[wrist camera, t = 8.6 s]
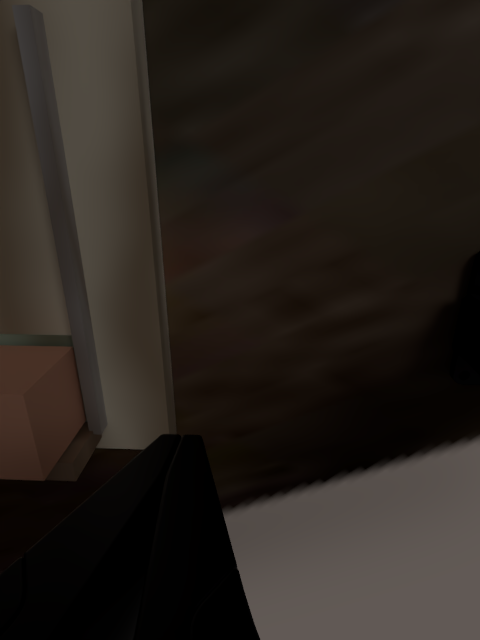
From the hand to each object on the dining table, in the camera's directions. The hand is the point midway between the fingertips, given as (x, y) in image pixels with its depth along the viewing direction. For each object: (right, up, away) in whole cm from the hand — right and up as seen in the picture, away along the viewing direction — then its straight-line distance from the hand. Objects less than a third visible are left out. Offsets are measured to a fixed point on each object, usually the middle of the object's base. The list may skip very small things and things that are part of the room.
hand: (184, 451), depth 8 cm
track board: (-8, +6, +10) cm, 14 cm away
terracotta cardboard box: (-8, 0, +11) cm, 13 cm away
